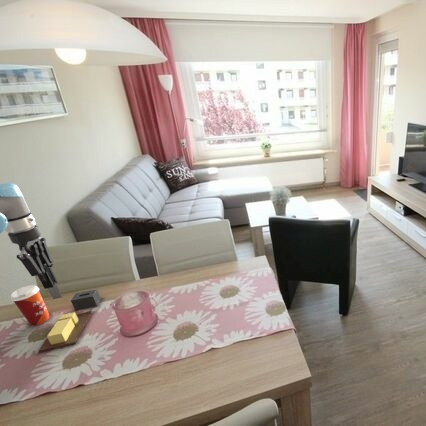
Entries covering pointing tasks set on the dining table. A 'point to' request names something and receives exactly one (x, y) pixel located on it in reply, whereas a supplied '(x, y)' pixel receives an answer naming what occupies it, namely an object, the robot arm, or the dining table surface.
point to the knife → (54, 290)
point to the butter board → (73, 335)
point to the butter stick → (61, 331)
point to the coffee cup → (31, 304)
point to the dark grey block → (86, 300)
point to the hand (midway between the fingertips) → (51, 285)
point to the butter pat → (68, 316)
